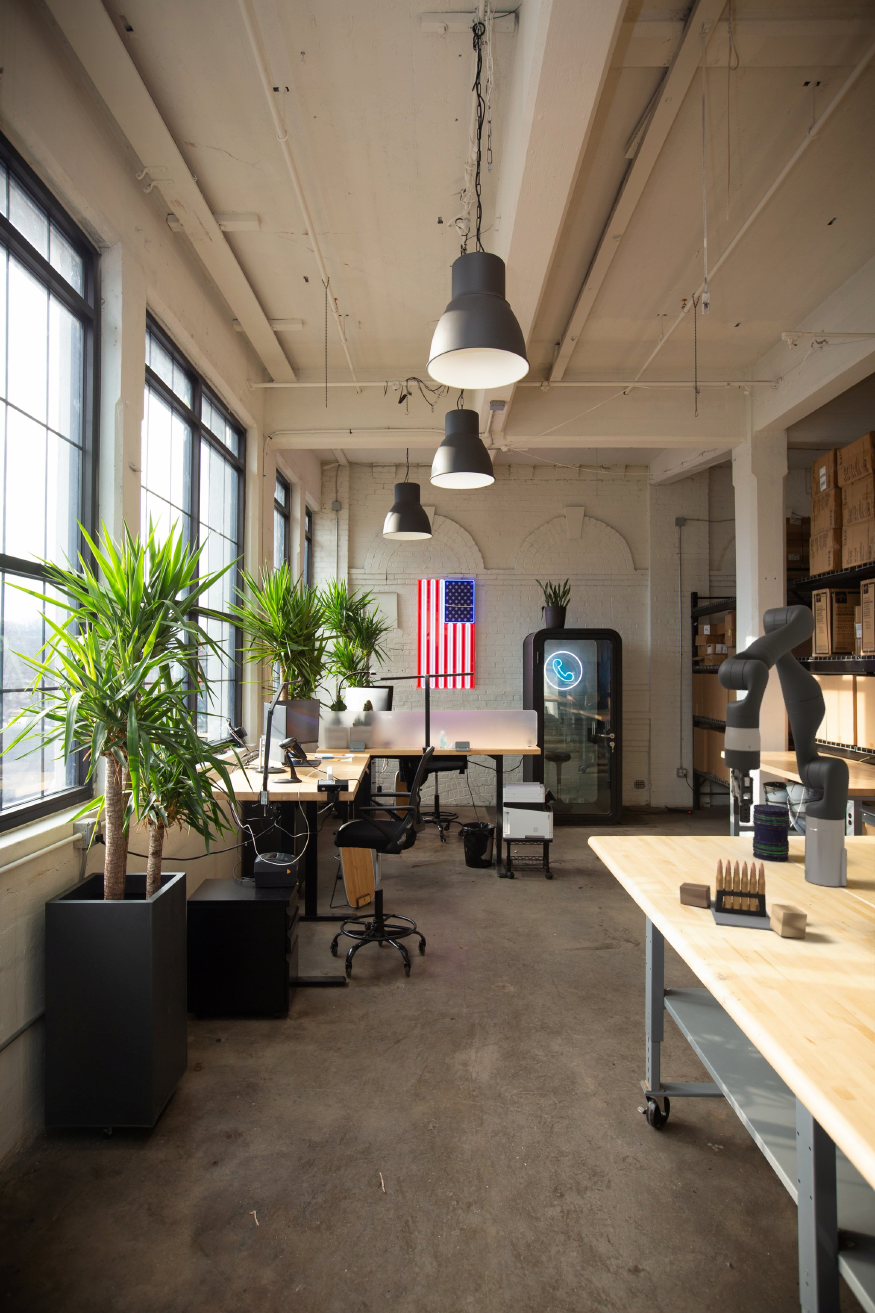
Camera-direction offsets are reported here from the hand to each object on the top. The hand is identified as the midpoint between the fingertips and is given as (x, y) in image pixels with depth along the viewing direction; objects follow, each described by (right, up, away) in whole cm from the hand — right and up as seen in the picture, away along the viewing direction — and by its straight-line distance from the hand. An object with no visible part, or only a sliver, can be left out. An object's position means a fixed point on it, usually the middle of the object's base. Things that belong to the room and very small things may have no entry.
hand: (741, 818), depth 161 cm
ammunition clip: (0, -22, 0) cm, 22 cm away
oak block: (+5, -22, -11) cm, 25 cm away
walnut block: (-8, -22, +7) cm, 24 cm away
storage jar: (+30, -23, +51) cm, 63 cm away
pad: (0, -22, 0) cm, 22 cm away
